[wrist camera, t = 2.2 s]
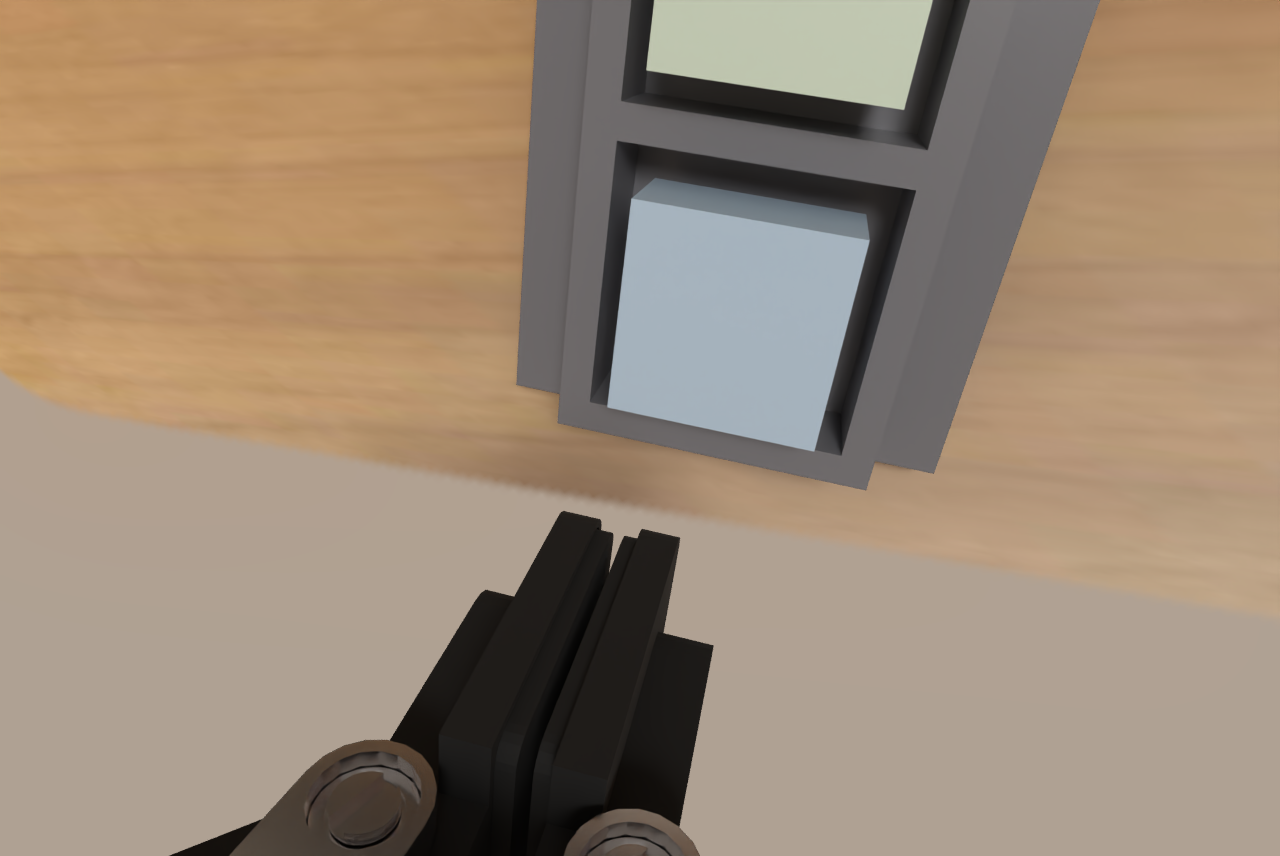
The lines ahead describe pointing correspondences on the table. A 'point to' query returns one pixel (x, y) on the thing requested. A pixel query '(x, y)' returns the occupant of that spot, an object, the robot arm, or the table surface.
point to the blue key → (734, 310)
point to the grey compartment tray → (805, 173)
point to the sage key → (794, 45)
